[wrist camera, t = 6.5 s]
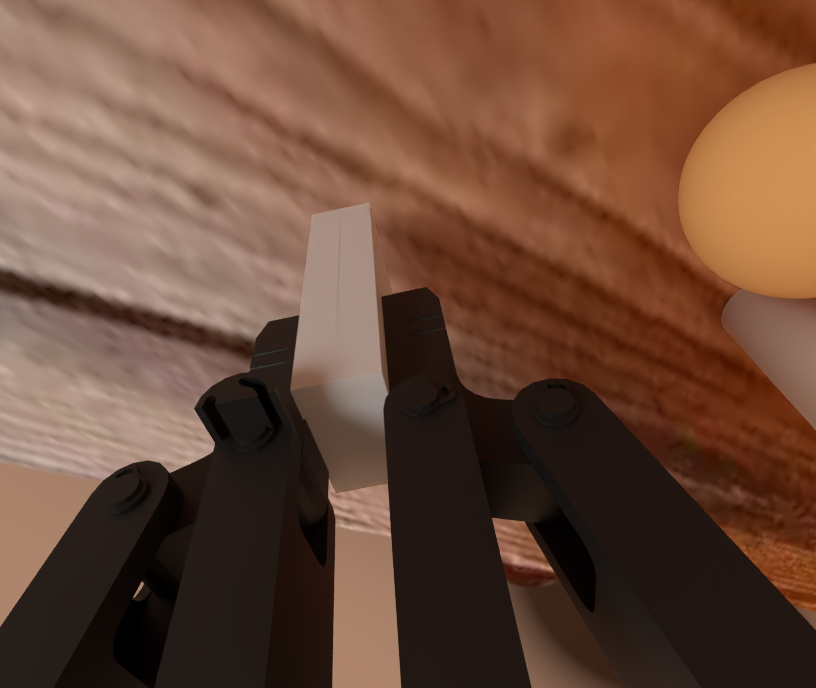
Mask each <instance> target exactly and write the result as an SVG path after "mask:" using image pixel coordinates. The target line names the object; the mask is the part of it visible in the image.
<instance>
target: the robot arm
mask: <svg viewBox="0 0 816 688" xmlns="http://www.w3.org/2000/svg"><path fill="white" fill-rule="evenodd" d="M253 356H254V357H252V361H251V365H250V369H251V371H249V373H240V374H237V375H234V376H231V377H228V378H225V379H224V380H222V381H220V382H218V383H217V384H215V385H213V386H212V387H211V388H210V389H209V390H208V391H207V392H206V393H204V394H203V395H202V396H201V397H200V399H199V401H198V403H197V405H196V406H195V408H194V409H195V411H196V413H197V414H198V416H199V418H200V419H201V421H202V422H203V424H204V426H205V427H206V429H207V431H208V432H209V434H210V435H211V437H212V439H213V440H214V442H215V447H214V451H213V452H212V453H211V454H209V455H207V456H205V457H204V458H202V459H200V460H198V461H196V462H193V463H191V464H189V465H187V466H185V467H182V468H180V469H178V470H176V471H174V472H171V473H169V472H168V471H167V470H166V469H165V468H164V467H163V466H162V465H161V464H160V463H158V462H153V461H142V462H136V463H132V464H130V465H128V466H126V467H123V468H121V469H119V470H117V471H116V472H114V473H113V474H112V475H110V476H109V477H108V478H106V479H105V480H103V482H102V483H101V484H100V485H99V486H98V487H97V488H96V490H95V491H94V492H93V493H92V494H91V496H90V497H89V499H88V500H87V502H86V503H85V504H84V506H83V507H82V509H81V510H80V512H79V513H78V515H77V516H76V517H75V519H74V520H73V522H72V523H71V525H70V526H69V528H68V529H67V531H66V532H65V534H64V535H63V536H62V538H61V540H60V541H59V542H58V544H57V545H56V547H55V548H54V550H53V551H52V553H51V554H50V555H49V557H48V558H47V560H46V561H45V563H44V564H43V566H42V567H41V568H40V570H39V571H38V573H37V574H36V576H35V577H34V579H33V580H32V582H31V583H30V585H29V586H28V588H27V589H26V590H25V592H24V593H23V595H22V596H21V598H20V599H19V600H18V602H17V603H16V605H15V606H14V608H13V609H12V611H11V612H10V614H9V615H8V616H7V618H6V619H5V621H4V623H3V624H2V625H1V627H0V688H332V667H333V665H332V663H333V616H334V565H335V561H334V560H335V515H334V510H333V507H332V505H331V503H330V501H329V499H328V483H329V479H330V481H331V483H332V485H333V488H334V490H335V492H336V493H339V492H344V491H349V490H355V489H360V488H365V487H370V486H376V485H381V484H386V483H388V491H389V506H390V521H391V537H392V551H393V567H394V583H395V598H396V611H397V628H398V644H399V659H400V673H401V688H531V684H530V679H529V675H528V671H527V667H526V662H525V658H524V654H523V649H522V645H521V641H520V637H519V633H518V628H517V624H516V620H515V616H514V611H513V607H512V602H511V598H510V594H509V590H508V585H507V581H506V577H505V572H504V568H503V564H502V560H501V555H500V551H499V547H498V543H497V538H496V534H495V530H494V525H493V521H492V518H500V519H508V520H517V521H525V523H526V525H527V527H528V528H529V530H530V532H531V533H532V535H533V537H534V539H535V540H536V542H537V544H538V545H539V547H540V549H541V550H542V552H543V554H544V555H545V557H546V559H547V560H548V562H549V564H550V565H551V567H552V569H553V570H554V572H555V574H556V575H557V577H558V579H559V580H560V582H561V584H562V585H563V587H564V589H565V590H566V592H567V594H568V595H569V597H570V598H571V601H572V602H573V604H574V605H575V607H576V609H577V611H578V612H579V614H580V616H581V617H582V619H583V621H584V622H585V624H586V626H587V627H588V629H589V631H590V632H591V634H592V636H593V637H594V639H595V641H596V642H597V644H598V646H599V647H600V649H601V651H602V652H603V654H604V656H605V657H606V659H607V661H608V663H609V664H610V666H611V668H612V669H613V671H614V672H615V674H616V676H617V678H618V679H619V681H620V683H621V684H622V686H623V688H816V630H815V629H814V628H813V627H812V626H811V625H810V624H809V622H808V621H807V620H806V619H805V618H804V617H803V616H802V615H801V614H800V613H799V612H798V611H797V610H796V609H795V607H794V606H793V605H792V604H791V603H790V602H789V601H788V600H787V599H786V598H785V597H784V596H783V595H782V594H781V592H780V591H779V590H778V589H777V588H776V587H775V586H774V585H773V584H772V583H771V582H770V581H769V580H768V579H767V577H766V576H765V575H764V574H763V573H762V572H761V571H760V570H759V569H758V568H757V567H756V566H755V565H754V564H753V562H752V561H751V560H750V559H749V558H748V557H747V556H746V555H745V554H744V553H743V552H742V551H741V550H740V548H739V547H738V546H737V545H736V544H735V543H734V542H733V541H732V540H731V539H730V538H729V537H728V536H727V535H726V533H725V532H724V531H723V530H722V529H721V528H720V527H719V526H718V525H717V524H716V523H715V522H714V521H713V520H712V518H711V517H710V516H709V515H708V514H707V513H706V512H705V511H704V510H703V509H702V508H701V507H700V506H699V505H698V503H697V502H696V501H695V500H694V499H693V498H692V497H691V496H690V495H689V494H688V493H687V492H686V491H685V490H684V488H683V487H682V486H681V485H680V484H679V483H678V482H677V481H676V480H675V479H674V478H673V477H672V476H671V475H670V473H669V472H668V471H667V470H666V469H665V468H664V467H663V466H662V465H661V464H660V463H659V462H658V461H657V460H656V458H655V457H654V456H653V455H652V454H651V453H650V452H649V451H648V450H647V449H646V448H645V447H644V446H643V445H642V443H641V442H640V441H639V440H638V439H637V438H636V437H635V436H634V435H633V434H632V433H631V432H630V431H629V430H628V428H627V427H626V426H625V425H624V424H623V423H622V422H621V421H620V420H619V419H618V418H617V417H616V416H615V414H614V413H613V412H612V411H611V410H610V409H609V408H608V407H607V406H606V405H605V404H604V403H603V402H602V401H601V399H600V398H599V397H598V396H597V395H596V394H595V393H594V392H592V391H591V390H590V389H588V388H587V387H585V386H584V385H583V384H580V383H577V382H574V381H571V380H567V379H546V380H542V381H537V382H534V383H532V384H530V385H529V386H527V387H525V388H523V389H522V390H521V391H520V392H519V394H518V395H517V396H516V397H515V399H514V400H502V399H492V398H485V397H482V396H480V395H477V394H474V393H473V392H471V391H469V390H468V389H466V388H465V387H464V386H463V384H462V383H461V382H460V381H459V378H458V376H457V373H456V369H455V365H454V360H453V356H452V352H451V348H450V343H449V339H448V335H447V331H446V327H445V322H444V318H443V314H442V309H441V305H440V301H439V298H438V297H437V296H436V295H435V294H433V293H432V292H431V291H430V290H429V289H428V288H427V287H425V288H420V289H415V290H410V291H405V292H401V293H396V294H392V290H391V286H390V282H389V278H388V274H387V270H386V266H385V262H384V258H383V254H382V250H381V246H380V242H379V238H378V234H377V230H376V226H375V222H374V218H373V214H372V210H371V206H370V202H369V203H364V204H360V205H355V206H351V207H346V208H341V209H337V210H332V211H328V212H323V213H318V214H314V215H312V219H311V227H310V235H309V243H308V251H307V259H306V267H305V275H304V283H303V291H302V299H301V307H300V315H298V316H293V317H289V318H284V319H279V320H274V321H270V322H268V323H267V325H266V326H265V327H264V329H263V330H262V331H261V333H260V334H259V335H258V337H257V338H256V343H255V347H254V352H253ZM141 581H142V582H143V583H144V585H143V587H142V589H141V590H140V591H139V593H138V594H137V595H136V597H134V598H133V596H134V595H135V593H136V591H137V589H138V587H139V585H140V583H141Z"/></svg>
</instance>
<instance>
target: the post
mask: <svg viewBox="0 0 816 688" xmlns="http://www.w3.org/2000/svg"><path fill="white" fill-rule="evenodd" d="M721 324H722V327H723V329H724V330H725V331H726V332H727V333H728V334H729V336H730V337H731V338H732V339H733V340H734V341H735V342H736V343H737V344H738V345H739V347H740V348H741V349H742V350H743V351H744V352H745V353H746V354H747V355H748V356H749V358H750V359H751V360H752V361H753V362H754V363H755V364H756V365H757V366H758V367H759V369H760V370H761V371H762V372H763V373H764V374H765V375H766V376H767V377H768V378H769V380H770V381H771V382H772V383H773V384H774V385H775V386H776V387H777V388H778V389H779V391H780V392H781V393H782V394H783V395H784V396H785V397H786V398H787V399H788V400H789V402H790V403H791V404H792V405H793V406H794V407H795V408H796V409H797V410H798V411H799V413H800V414H801V415H802V416H803V417H804V418H805V419H806V420H807V421H808V422H809V424H810V425H811V426H812V427H813V428H814V429H815V430H816V300H815V299H814V298H804V299H788V298H777V297H769V296H765V295H760V294H757V293H753V292H750V291H747V290H744V289H739V290H738V291H737V292H736V293H735V294H734V295H733V296H732V297H731V298H730V299H729V301H728V302H727V303H726V305H725V307H724V309H723V311H722V315H721Z"/></svg>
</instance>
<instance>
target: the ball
mask: <svg viewBox="0 0 816 688" xmlns="http://www.w3.org/2000/svg"><path fill="white" fill-rule="evenodd" d="M678 208H679V215H680V220H681V224H682V228H683V230H684V233H685V236H686V238H687V240H688V242H689V244H690V246H691V248H692V249H693V251H694V252H695V254H696V255H697V256H698V257H699V259H700V260H701V261H702V262H703V263H704V264H705V265H706V266H707V267H708V268H709V269H710V270H712V271H713V272H714V273H715V274H716V275H718V276H719V277H721V278H722V279H724V280H725V281H727V282H729V283H731V284H733V285H735V286H737V287H739V288H741V289H744V290H747V291H750V292H753V293H757V294H760V295H765V296H769V297H777V298H788V299H804V298H816V63H813V64H809V65H805V66H801V67H797V68H793V69H790V70H786V71H784V72H781V73H779V74H776V75H774V76H772V77H769V78H767V79H765V80H763V81H760V82H759V83H757V84H756V85H754V86H752V87H751V88H749V89H747V90H746V91H744V92H742V93H741V94H739V95H738V96H737V97H735V98H734V99H733V100H732V101H731V102H729V103H728V104H727V105H726V106H725V107H723V108H722V109H721V110H720V111H719V112H718V113H717V114H716V115H715V116H714V118H713V119H712V120H711V121H710V122H709V123H708V124H707V125H706V127H705V128H704V129H703V131H702V132H701V133H700V135H699V136H698V138H697V140H696V141H695V143H694V144H693V146H692V148H691V150H690V152H689V154H688V157H687V159H686V162H685V164H684V167H683V170H682V174H681V178H680V184H679V192H678Z"/></svg>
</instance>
